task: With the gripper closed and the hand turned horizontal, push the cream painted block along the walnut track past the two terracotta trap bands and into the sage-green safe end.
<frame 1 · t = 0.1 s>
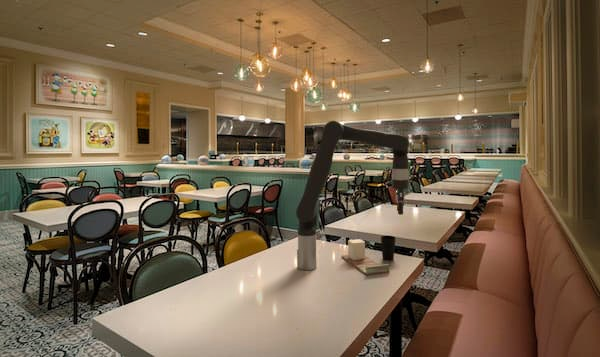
hand: (399, 212, 164), 29 cm above the table, tool pointing down, fingers open, 8 cm apart
block: (356, 249, 186), point 6 cm above the table, slide at 0.0 cm
cup: (388, 259, 187), on the table
track: (366, 266, 176), on the table
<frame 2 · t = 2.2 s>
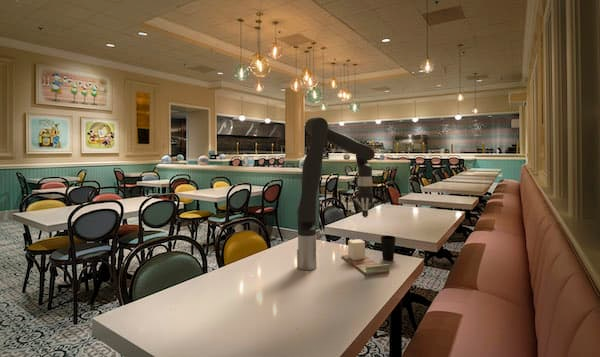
hand: (365, 217, 185), 23 cm above the table, tool pointing down, fingers closed
nothing on the table moved.
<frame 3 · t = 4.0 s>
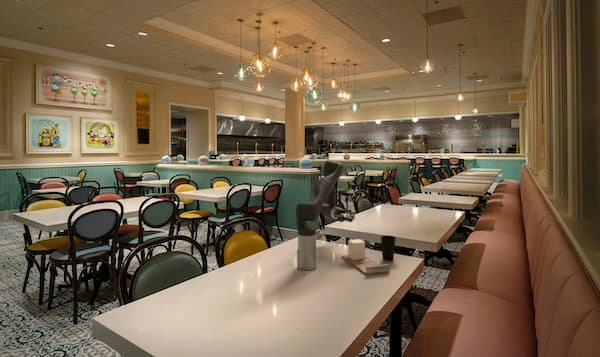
hand: (351, 220, 192), 20 cm above the table, tool horizontal, fingers closed
nothing on the table moved.
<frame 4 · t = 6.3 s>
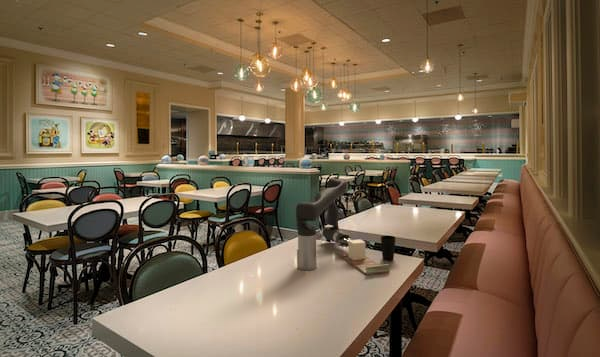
hand: (354, 246, 189), 6 cm above the table, tool horizontal, fingers closed
block: (356, 249, 186), point 6 cm above the table, slide at 0.5 cm, touching gripper
everything else where it was.
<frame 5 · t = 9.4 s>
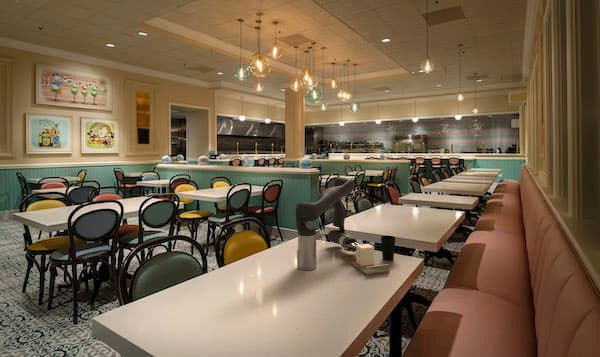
hand: (362, 251, 180), 6 cm above the table, tool horizontal, fingers closed
block: (365, 254, 177), point 6 cm above the table, slide at 9.9 cm, touching gripper
everything else where it was.
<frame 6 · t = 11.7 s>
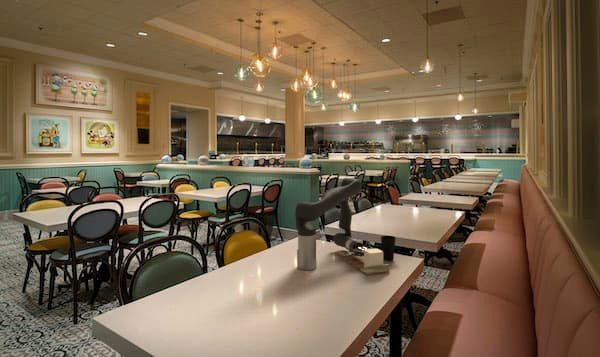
hand: (370, 256, 172), 6 cm above the table, tool horizontal, fingers closed
block: (373, 259, 169), point 6 cm above the table, slide at 18.6 cm, touching gripper
everything else where it was.
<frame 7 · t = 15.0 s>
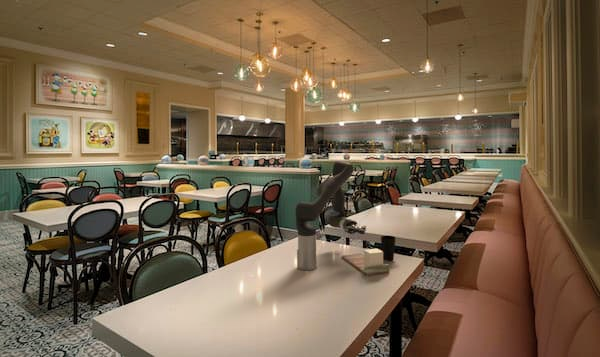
hand: (363, 232, 178), 17 cm above the table, tool horizontal, fingers closed
block: (373, 259, 169), point 6 cm above the table, slide at 18.5 cm
everything else where it was.
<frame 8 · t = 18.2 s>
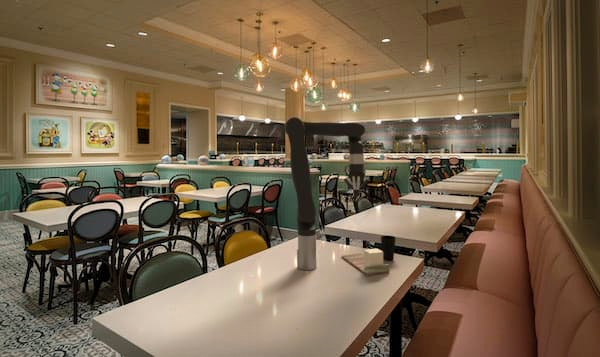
hand: (356, 196, 177), 35 cm above the table, tool pointing down, fingers closed
nothing on the table moved.
at the end: block slide at 18.5 cm; block 0.6 cm from the target spot, point 5.6 cm above the table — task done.
